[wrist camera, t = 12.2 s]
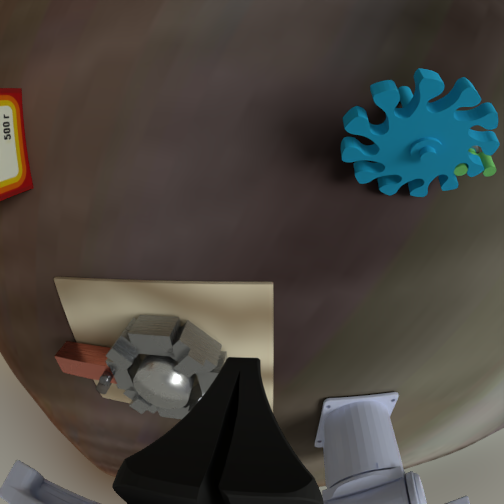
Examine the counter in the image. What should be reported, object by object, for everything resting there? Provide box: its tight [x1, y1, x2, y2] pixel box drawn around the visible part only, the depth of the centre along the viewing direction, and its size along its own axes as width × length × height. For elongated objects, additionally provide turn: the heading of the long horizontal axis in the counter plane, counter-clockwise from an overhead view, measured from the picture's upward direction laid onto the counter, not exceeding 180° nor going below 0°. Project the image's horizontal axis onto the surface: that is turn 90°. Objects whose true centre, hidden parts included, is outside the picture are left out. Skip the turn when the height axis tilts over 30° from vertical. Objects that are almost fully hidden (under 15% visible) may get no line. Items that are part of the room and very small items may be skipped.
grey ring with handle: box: [55, 315, 227, 419], centre depth 24 cm, size 17×10×4 cm, turn 93°
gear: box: [341, 68, 500, 197], centre depth 15 cm, size 11×6×10 cm
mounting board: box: [54, 277, 273, 412], centre depth 24 cm, size 16×20×3 cm
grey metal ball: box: [133, 354, 196, 409], centre depth 24 cm, size 5×5×4 cm
